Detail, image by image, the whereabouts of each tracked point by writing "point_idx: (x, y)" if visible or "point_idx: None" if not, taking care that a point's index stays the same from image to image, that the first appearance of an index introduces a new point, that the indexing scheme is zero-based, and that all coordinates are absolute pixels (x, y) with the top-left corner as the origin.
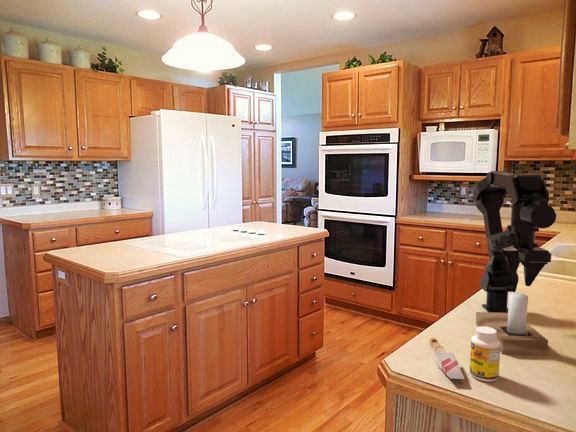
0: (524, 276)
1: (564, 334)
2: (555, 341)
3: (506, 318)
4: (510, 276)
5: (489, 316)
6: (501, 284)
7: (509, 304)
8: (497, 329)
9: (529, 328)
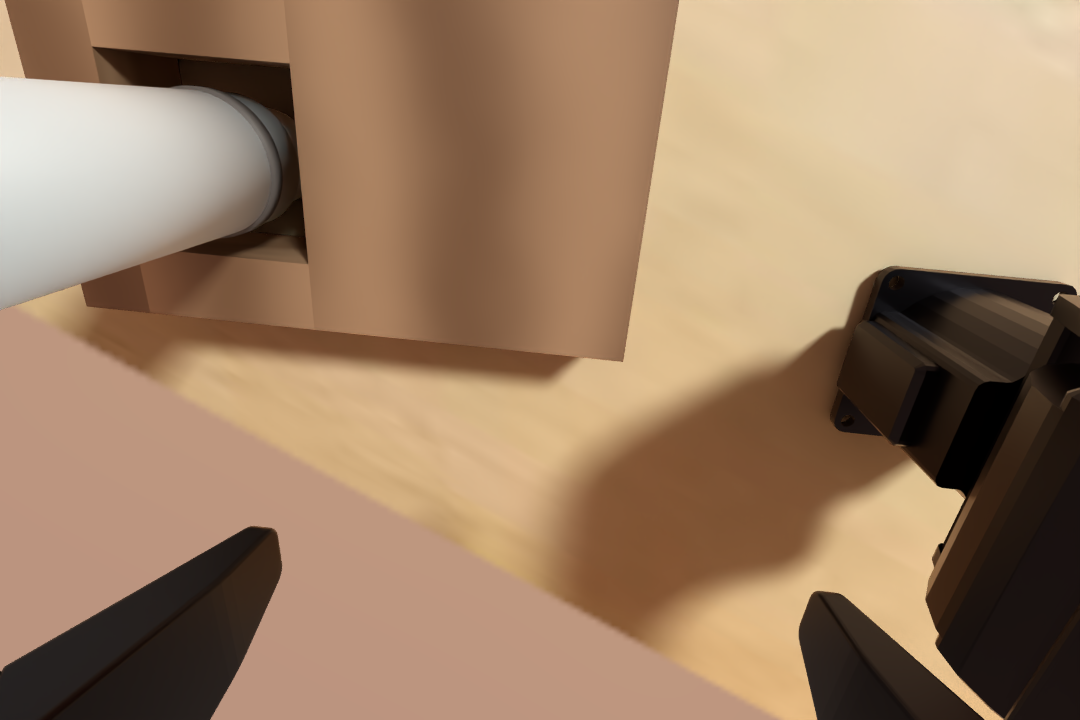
0: (148, 628)
1: (465, 520)
2: (364, 425)
3: (494, 230)
4: (1014, 639)
5: (547, 91)
6: (988, 471)
7: None
8: (217, 6)
9: (290, 299)
